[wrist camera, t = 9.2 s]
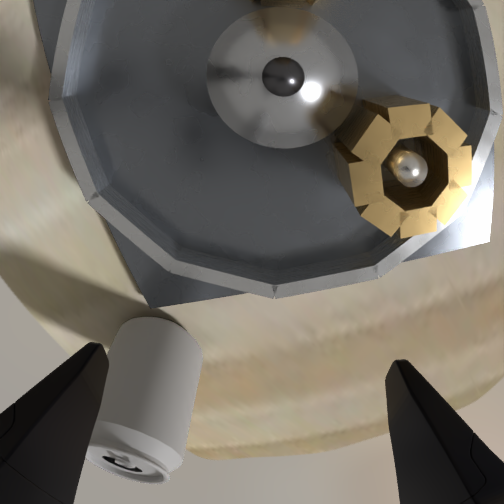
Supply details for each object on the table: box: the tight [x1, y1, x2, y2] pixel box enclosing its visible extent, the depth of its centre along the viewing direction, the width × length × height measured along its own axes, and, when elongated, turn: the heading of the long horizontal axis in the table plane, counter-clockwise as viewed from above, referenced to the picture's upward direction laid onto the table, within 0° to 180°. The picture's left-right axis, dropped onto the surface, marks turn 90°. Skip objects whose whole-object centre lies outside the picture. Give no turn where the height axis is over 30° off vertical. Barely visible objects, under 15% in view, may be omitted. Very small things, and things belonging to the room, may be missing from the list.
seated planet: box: [332, 95, 472, 239], centre depth 14 cm, size 6×6×4 cm
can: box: [85, 317, 203, 484], centre depth 21 cm, size 8×8×12 cm
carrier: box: [33, 0, 503, 308], centre depth 13 cm, size 25×25×4 cm
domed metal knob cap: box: [206, 7, 358, 149], centre depth 13 cm, size 7×7×3 cm
